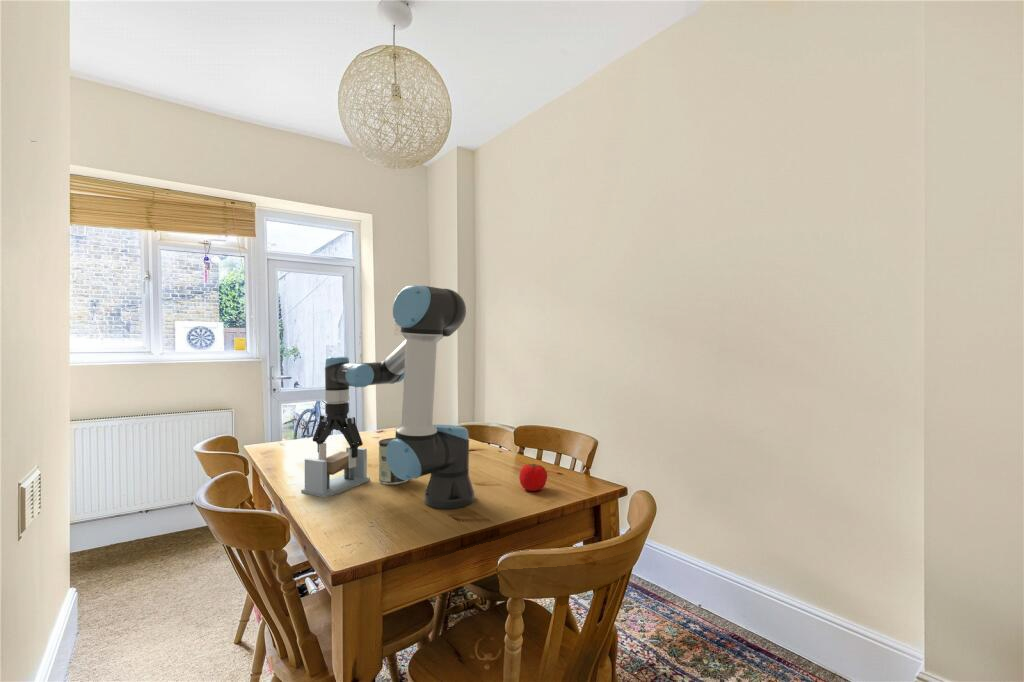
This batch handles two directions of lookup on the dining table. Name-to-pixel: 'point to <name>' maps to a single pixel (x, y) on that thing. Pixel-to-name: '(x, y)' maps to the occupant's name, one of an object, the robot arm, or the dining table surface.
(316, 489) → the peg cradle
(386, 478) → the coffee can
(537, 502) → the dining table surface
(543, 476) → the tomato
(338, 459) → the shelf board
